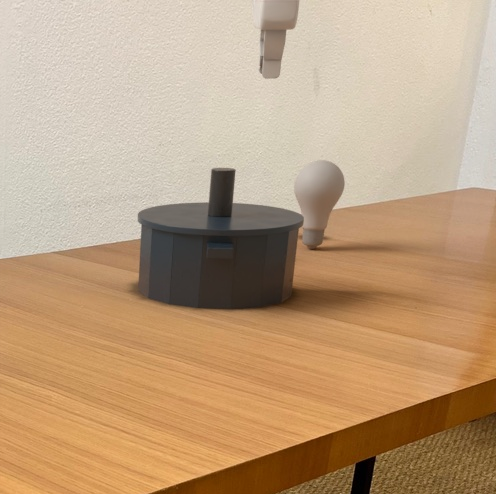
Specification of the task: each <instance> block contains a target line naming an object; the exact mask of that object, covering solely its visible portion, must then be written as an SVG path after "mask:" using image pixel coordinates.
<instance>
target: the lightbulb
mask: <svg viewBox="0 0 496 494" xmlns="http://www.w3.org/2000/svg"><path fill="white" fill-rule="evenodd" d="M344 176H345V175H344V173H343V172H342V170H341V168H340V167H339V165H337V164H336V163H334V162H332V161H329V160H325V159H318V160H314V161H311V162H309V163H307V164H305V165H304V166H303V167H302V168H301V169H300V170H299V172H298V173H297V175H296V176H295V179H294V184H293V191H294V195H295V198H296V202H297V203H298V206H299V208H300V209H299V210H300V212H301V215H302V216H303V217H304V223H303V226H302V227H301V228H302V244H303V245H304V246H306V247H307V248H308V249H310V250H313V249H317V247H319V246H321V245H322V244H323V242H324V236H325V231H326V229H327V228H328V223H329V220H330V216H331V214H332V212H333V210H334V208H335V206H336V205H337V203H338V202H339V200H340V199H341V197H342V195H343V193H344V190H345V183H346V182H345V181H346V180H345V177H344Z"/></svg>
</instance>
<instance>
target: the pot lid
mask: <svg viewBox="0 0 496 494" xmlns="http://www.w3.org/2000/svg"><path fill="white" fill-rule="evenodd" d="M235 182H236V169H235V168H232V167H214V168H211V170H210V180H209V193H208V202H181V203H168V204H161V205H156V206H151V207H147V208H144V209H142V210H140V211H139V212H138V213H137V222H138V223H139V224H140V225H144V226H146V227H149V228H152V229H157V230H161V231H167V232H173V233H181V234H191V235H205V236H257V235H269V234H278V233H284V232H289V231H293V230H296V229H298V228H299V229H300V228H303V227H302V226H303V223H304V217H303V216H302V213H301V214H300V213H299V212H297V211H294V210H290V209H287V208H282V207H276V206H270V205H263V204H254V203H253V204H252V203H242V202H241V203H240V202H234V193H235V184H236V183H235Z"/></svg>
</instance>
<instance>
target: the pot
mask: <svg viewBox="0 0 496 494" xmlns="http://www.w3.org/2000/svg"><path fill="white" fill-rule="evenodd" d="M140 225H141V228H140V245H139V247H140V249H139V266H138V267H139V268H138V284H137V285H138V286H137V287H138V288H137V292H138V293H140V294H141V295H142V296H144V297H145V298H147V299H149V300H153V301H156V302H160V303H163V304H167V305H172V306H178V307H179V306H180V307H186V308H194V309H206V310H207V309H208V310H210V309H211V310H241V309H256V308H258V309H259V308H263V307H268V306H273V305H278V304H282V303H283V302H285V301H286V300H288V299H290V298H291V297H292V291H293V284H294V275H295V265H296V257H297V248H298V240H299V230H300V228H298V229H296V230H293V231H289V232H284V233H278V234H269V235H257V236H205V235H191V234H181V233H173V232H167V231H161V230H157V229H152V228H149V227H146V226H144V225H142V224H140Z"/></svg>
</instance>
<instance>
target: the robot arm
mask: <svg viewBox="0 0 496 494" xmlns="http://www.w3.org/2000/svg"><path fill="white" fill-rule="evenodd" d="M251 3H252V7H251V8H252V22H253V27H254V28H255V29H258V30H260V32H259V58H258V60H259V61H258V72H259V74H261V76H262V78H263V79H265V80H266V79H268V80H269V79H270V80H271V79H273V80H274V79H275V80H276V79H279V77H280V75H281V69H282V60H283V53H284V49H285V46H286V40H287V39H286V38H287V31H290V30H294V29H295V28H296V27H297V23H298V18H299V10H300V9H299V8H300V0H252V1H251Z"/></svg>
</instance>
